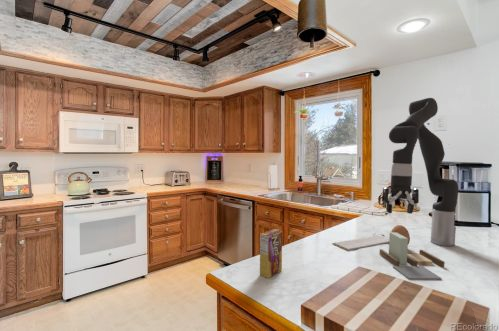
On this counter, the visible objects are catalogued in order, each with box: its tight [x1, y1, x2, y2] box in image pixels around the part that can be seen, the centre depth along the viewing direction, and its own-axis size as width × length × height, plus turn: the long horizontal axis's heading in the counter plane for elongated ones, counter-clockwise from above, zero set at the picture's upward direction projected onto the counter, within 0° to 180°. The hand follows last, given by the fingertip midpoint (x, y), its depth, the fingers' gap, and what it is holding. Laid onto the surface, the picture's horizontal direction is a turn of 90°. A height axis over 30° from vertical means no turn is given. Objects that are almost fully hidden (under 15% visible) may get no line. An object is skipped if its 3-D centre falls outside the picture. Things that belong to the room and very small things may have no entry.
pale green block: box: [388, 231, 409, 265], centre depth 111 cm, size 3×8×11 cm, turn 2°
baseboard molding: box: [331, 233, 389, 252], centre depth 134 cm, size 31×3×12 cm
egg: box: [390, 224, 411, 245], centre depth 126 cm, size 8×8×11 cm
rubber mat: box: [392, 265, 443, 281], centre depth 99 cm, size 12×10×1 cm
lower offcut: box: [417, 263, 435, 266], centre depth 112 cm, size 7×9×1 cm
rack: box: [379, 248, 445, 268], centre depth 112 cm, size 19×13×2 cm
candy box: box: [259, 228, 283, 279], centre depth 97 cm, size 9×4×15 cm, turn 140°
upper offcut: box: [407, 253, 434, 264], centre depth 112 cm, size 6×8×1 cm
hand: (399, 213), depth 111 cm, fingers open, 8 cm apart
